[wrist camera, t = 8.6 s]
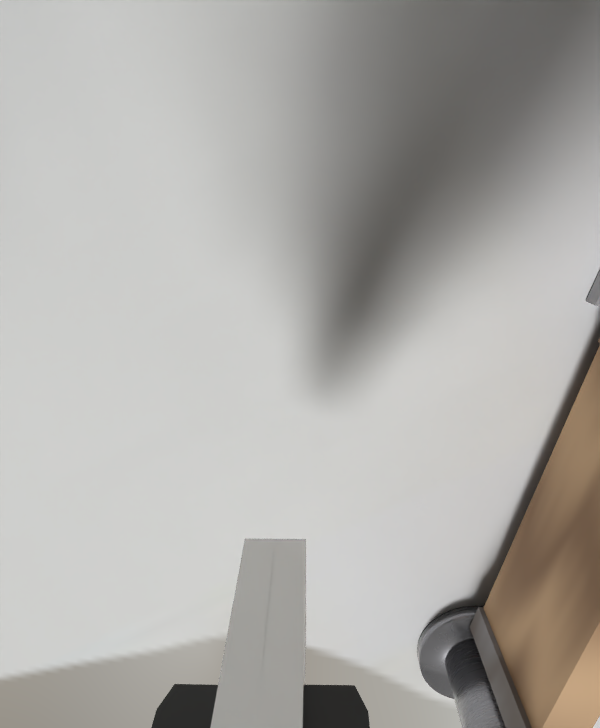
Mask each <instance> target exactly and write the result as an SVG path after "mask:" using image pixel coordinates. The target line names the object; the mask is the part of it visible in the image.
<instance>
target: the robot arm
mask: <svg viewBox="0 0 600 728" xmlns="http://www.w3.org/2000/svg"><path fill="white" fill-rule="evenodd" d="M305 659H306V539H245V541H244V547H243V552H242V558H241V563H240V569H239V574H238V580H237V585H236V590H235V596H234V601H233V607H232V612H231V618H230V623H229V629H228V634H227V640H226V645H225V650H224V656H223V661H222V667H221V673H220V678H219V683H218V685H190V684H187V685H186V684H175V685H174V686H173V687H172V689H171V690H170V692H169V693H168V694H167V696H166V697H165V699H164V700H163V702H162V703H161V704H160V706H159V707H158V708H157V711H156V714H155V718H154V721H153V724H152V728H370V727H369V717H368V711H367V709H366V707H365V705H364V703H363V701H362V699H361V697H360V695H359V693H358V691H357V689H356V687H355V686H351V685H350V686H349V685H305Z"/></svg>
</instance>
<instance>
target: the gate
mask: <svg viewBox="0 0 600 728" xmlns="http://www.w3.org/2000/svg"><path fill="white" fill-rule="evenodd" d="M598 342H599V343H600V338H599V340H598ZM470 629H471V632H472V635H473V637H474V640H475V643H476V646H477V649H478V651H479V654H480V657H481V660H482V663H483V665H484V668H485V671H486V674H487V676H488V679H489V682H490V685H491V688H492V690H493V693H494V696H495V699H496V702H497V704H498V707H499V710H500V713H501V716H502V718H503V721H504V724H505V727H506V728H593V726H594V724H595V723H596V721H597V719H598V718H599V716H600V345H599V348H598V350H597V352H596V354H595V357H594V359H593V361H592V364H591V366H590V368H589V370H588V373H587V375H586V377H585V379H584V382H583V384H582V386H581V388H580V391H579V393H578V395H577V397H576V400H575V402H574V404H573V407H572V409H571V411H570V413H569V416H568V418H567V420H566V422H565V425H564V427H563V429H562V431H561V434H560V436H559V438H558V440H557V443H556V445H555V447H554V449H553V452H552V454H551V456H550V459H549V461H548V463H547V465H546V468H545V470H544V472H543V474H542V477H541V479H540V481H539V483H538V486H537V488H536V490H535V492H534V495H533V497H532V499H531V502H530V504H529V506H528V508H527V511H526V513H525V515H524V517H523V520H522V522H521V524H520V526H519V529H518V531H517V533H516V535H515V538H514V540H513V542H512V545H511V547H510V549H509V551H508V554H507V556H506V558H505V560H504V563H503V565H502V567H501V569H500V572H499V574H498V576H497V578H496V581H495V583H494V585H493V587H492V590H491V592H490V594H489V597H488V599H487V601H486V603H485V606H484V608H480V607H478V609H477V611H476V614H475V616H474V618H473V621H472V623H471V625H470Z"/></svg>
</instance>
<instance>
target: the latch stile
mask: <svg viewBox="0 0 600 728" xmlns="http://www.w3.org/2000/svg"><path fill="white" fill-rule="evenodd" d="M586 301H587V302H589V303H591V304H593V305H596V306H600V271H599V273H598V275H597V278H596V280H595V282H594V284H593V286H592V288H591V291H590V293H589V295H588V297H587V299H586Z"/></svg>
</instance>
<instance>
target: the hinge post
mask: <svg viewBox="0 0 600 728" xmlns="http://www.w3.org/2000/svg"><path fill="white" fill-rule="evenodd" d="M478 607H479V606H473V607H463V608H459V609H455V610H452V611H449V612H447V613H445V614H443V615H441V616H439V617H438V618H436V619H435V620H434V621H432V622H431V623H430V624H429V625H428V626H427V627H426V629H425V630H424V631H423V633H422V635H421V636H420V639H419V642H418V647H417V655H418V660H419V664H420V669H421V672H422V675H423V677H424V679H425V681H426V682H427V683H428V685H429V686H430V687H432V688H433V689H434V690H435V691H437V692H438V693H440V694H442V695H444V696H447V697H449V698H453V699H455V703H456V706H457V710H458V713H459V717H460V721H461V724H462V727H463V728H506V727H505V724H504V721H503V718H502V716H501V713H500V710H499V707H498V704H497V702H496V699H495V696H494V693H493V690H492V688H491V685H490V682H489V679H488V676H487V674H486V671H485V668H484V665H483V663H482V660H481V657H480V654H479V651H478V649H477V646H476V643H475V640H474V637H473V635H472V632H471V629H470V625H471V623H472V621H473V618H474V616H475V614H476V611H477V609H478ZM480 608H484V607H480Z"/></svg>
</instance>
